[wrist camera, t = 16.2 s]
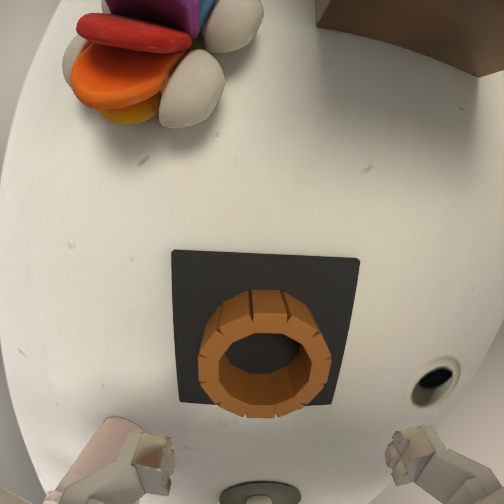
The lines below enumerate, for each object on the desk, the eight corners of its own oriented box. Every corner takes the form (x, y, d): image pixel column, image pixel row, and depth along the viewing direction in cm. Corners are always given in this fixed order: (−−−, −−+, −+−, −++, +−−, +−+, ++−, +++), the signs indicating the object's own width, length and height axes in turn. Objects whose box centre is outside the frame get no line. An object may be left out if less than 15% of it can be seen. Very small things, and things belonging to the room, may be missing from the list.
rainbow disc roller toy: (70, 107, 14) (-13, 81, 7) (149, -24, 12) (113, -93, 5) (196, 156, 15) (157, 139, 8) (276, 10, 13) (294, -71, 6)
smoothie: (82, 394, 18) (1, 537, 5) (162, 415, 19) (117, 590, 5) (94, 445, 20) (43, 569, 6) (164, 463, 20) (136, 603, 7)
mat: (357, 257, 16) (360, 260, 16) (329, 399, 19) (331, 404, 18) (173, 249, 16) (170, 252, 16) (180, 396, 18) (179, 402, 18)
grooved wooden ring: (324, 291, 16) (340, 314, 13) (309, 385, 18) (318, 416, 15) (204, 286, 16) (196, 310, 13) (205, 383, 17) (200, 415, 15)
